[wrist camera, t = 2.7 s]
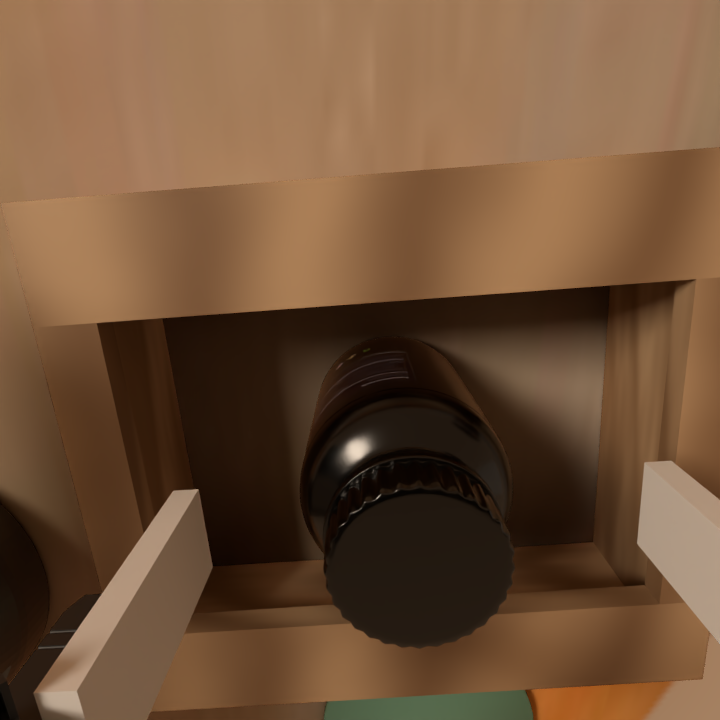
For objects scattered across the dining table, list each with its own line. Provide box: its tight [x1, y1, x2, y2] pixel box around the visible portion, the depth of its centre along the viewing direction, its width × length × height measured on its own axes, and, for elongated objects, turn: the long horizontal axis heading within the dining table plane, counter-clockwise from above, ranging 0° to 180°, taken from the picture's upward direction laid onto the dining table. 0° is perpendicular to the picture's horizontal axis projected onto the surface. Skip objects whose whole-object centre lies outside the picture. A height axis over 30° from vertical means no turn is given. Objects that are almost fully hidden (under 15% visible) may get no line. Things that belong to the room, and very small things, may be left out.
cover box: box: [0, 147, 720, 712], centre depth 21 cm, size 22×19×7 cm
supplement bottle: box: [300, 337, 515, 649], centre depth 18 cm, size 7×7×12 cm
